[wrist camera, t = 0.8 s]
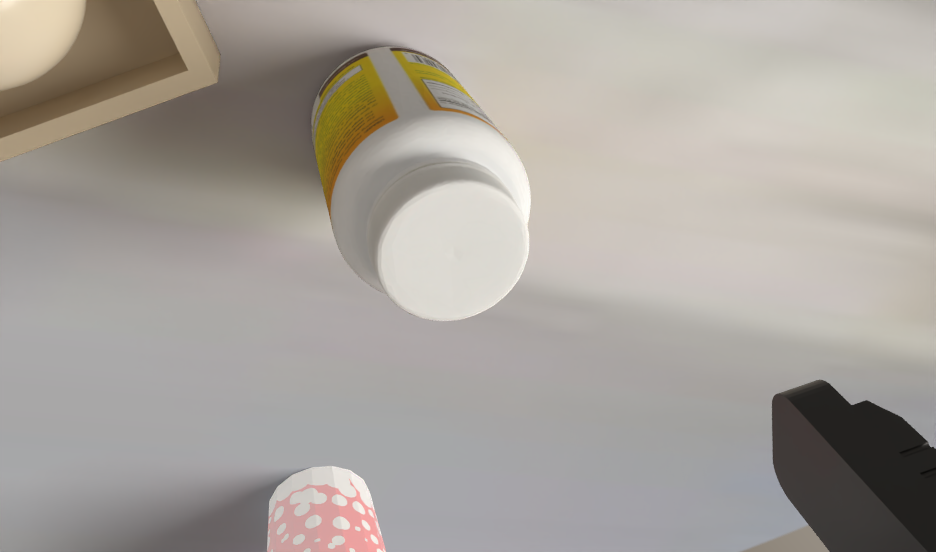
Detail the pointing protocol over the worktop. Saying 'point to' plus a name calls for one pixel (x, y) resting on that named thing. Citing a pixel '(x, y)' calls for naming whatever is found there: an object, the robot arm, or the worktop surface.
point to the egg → (36, 37)
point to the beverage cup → (323, 514)
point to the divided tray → (112, 72)
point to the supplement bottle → (420, 185)
